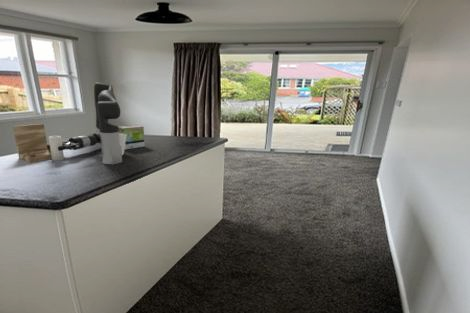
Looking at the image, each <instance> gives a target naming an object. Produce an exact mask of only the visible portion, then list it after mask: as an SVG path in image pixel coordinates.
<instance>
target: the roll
mask: <svg viewBox="0 0 470 313" xmlns="http://www.w3.org/2000/svg"><path fill="white" fill-rule="evenodd" d="M48 141H49V142H48V143H49V145H50V150H51V156H52V159H51V160H52V162H53V161H54V162H57V161H58V160H59V161H63V160H65V155H64V150H61V151H59V150H58V147H59V146H62V141H63V140H62V136H61V135H50V136H48Z"/></svg>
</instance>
